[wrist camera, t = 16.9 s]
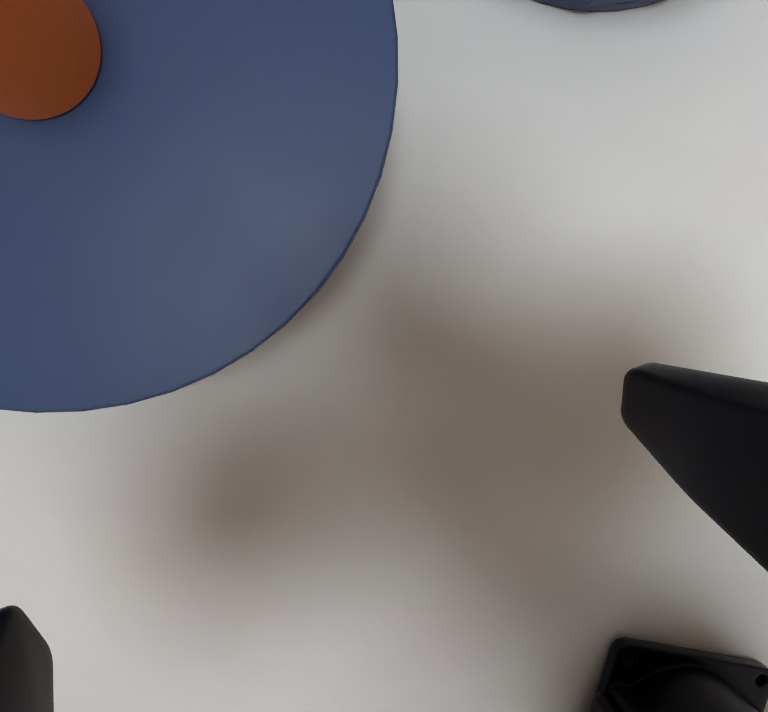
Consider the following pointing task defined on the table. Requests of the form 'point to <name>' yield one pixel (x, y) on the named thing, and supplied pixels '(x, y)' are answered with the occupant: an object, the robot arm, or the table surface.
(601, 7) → the bin
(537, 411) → the table surface
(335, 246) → the bin lid
